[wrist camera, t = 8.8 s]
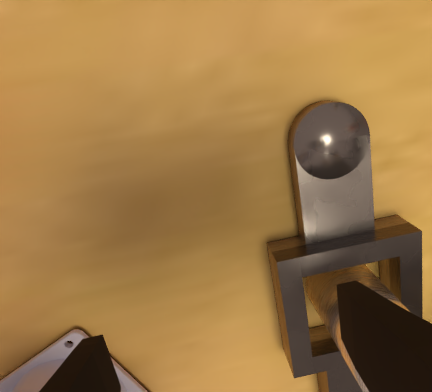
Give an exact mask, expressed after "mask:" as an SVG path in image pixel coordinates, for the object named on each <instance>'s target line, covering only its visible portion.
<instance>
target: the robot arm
mask: <svg viewBox="0 0 432 392" xmlns="http://www.w3.org/2000/svg"><path fill="white" fill-rule="evenodd" d="M336 288H337V298H338V309H339V320H340V331H341V339H342V341H343V344H344V346H345V348H346V350H347V352H348V355H349V357H350V359H351V361H352V363H353V365H354V367H355V369H356V371H357V372H358V374H359V376H360V377H361V379H362V381H363V382H364V384H365V386H366V387H367V389H368V390H369V392H432V324H431V323H429V322H428V321H426V320H424V319H422V318H420V317H418V316H416V315H414V314H413V313H411V312H409V311H407V310H406V309H404V308H402V307H400V306H398V305H397V304H395V303H393V302H392V301H390V300H388V299H387V298H385V297H383V296H381V295H380V294H378V293H376V292H375V291H373V290H371V289H370V288H368V287H366V286H365V285H363V284H361V283H360V282H358V281H356V280H355V281H351V282H346V283H341V284H337V285H336ZM67 341H71V342H73V343H72V344H71V343H68V342H67ZM0 392H148V391H147V390H146V389H145V388H143V387H142V386H141V385H140V384H139V383H138V382H137V381H136V380H135V379H134V378H133V377H132V376H131V375H129V374H128V373H127V372H126V371H125V370H124V369H123V368H122V367H121V366H120V365H119V364H118V363H117V362H115V361H114V360H113V359H112V358H111V357H110V354H109V351H108V348H107V346H106V343H105V340H104V337H103V335H98V336H94V337H89V336H87V335H86V334H85V333H84V332H83V331H82V330H79V329H74V330H72V331H70V332H69V333H67V334H66V335H64V336H63V337H62V338H60V339H59V340H57V341H56V342H54V343H53V344H52V345H50V346H49V347H47V348H46V349H44V350H43V351H42V352H40V353H39V354H37V355H36V356H35V357H33V358H32V359H30V360H29V361H27V362H26V363H25V364H23V365H22V366H20V367H19V368H17V369H16V370H15V371H13V372H12V373H10V374H9V375H8V376H6V377H5V378H3V379H2V380H0Z"/></svg>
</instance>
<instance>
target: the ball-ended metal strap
mask: <svg viewBox="0 0 432 392" xmlns="http://www.w3.org/2000/svg"><path fill="white" fill-rule="evenodd" d="M288 149H289V157H290V164H291V172H292V180H293V188H294V196H295V204H296V212H297V220H298V228H299V236H296V237H291V238H287V239H282V240H277V241H273V242H268V243H267V248H268V255H269V261H270V267H271V273H272V280H273V286H274V292H275V298H276V305H277V311H278V317H279V323H280V330H281V336H282V342H283V349H284V352H285V355H286V357H287V360H288V363H289V365H290V368H291V371H292V373H293V376H294V378H297V377H302V376H306V375H311V374H315V373H317V378H318V386H319V392H363V391H362V389H361V388H360V386H359V384H358V382H357V381H356V379H355V377H354V375H353V374H352V372H351V370H350V368H349V367H348V365H347V363H346V361H345V360H344V358H343V356H342V354H341V353H340V351H339V349H338V347H337V346H336V344H335V342H334V340H333V339H332V337H331V335H330V333H329V332H328V330H327V328H326V326H325V325H323V326H319V327H314V328H310V329H309V327H308V319H307V311H306V304H305V296H304V288H303V280H302V277H307V276H311V275H316V274H321V273H325V272H330V271H334V270H339V269H344V268H348V267H353V266H357V265H362V264H366V263H371V262H376V261H379V271H380V281H381V282H382V283H383V284H384V285H385V286H386V287H387V288H388V289H389V290H390V291H391V292H392V293H393V294H394V295H395V296H396V298H397V299H398V300H399V301H400V302H401V303H402V304H403V305H404V306H405V307H406V308H407V309H408V310H409V311H410V312H411V313H413V314H414V315H416V316H418V317H420V318H422V231H421V230H420V229H418V228H417V227H415V226H413V225H412V224H410V223H409V222H407V221H406V220H404V219H403V218H401V217H400V216H398V215H394V216H389V217H384V218H380V219H375V220H374V207H373V188H372V169H371V149H370V133H369V127H368V124H367V121H366V119H365V118H364V116H363V115H362V114H361V112H360V111H358V110H357V109H356V108H354V107H353V106H351V105H349V104H345V103H341V102H335V101H320V102H316V103H313V104H311V105H309V106H308V107H306V108H305V109H303V110H302V111H301V112H300V113H299V114H298V115H297V117H296V118H295V119H294V121H293V123H292V125H291V127H290V130H289V134H288Z"/></svg>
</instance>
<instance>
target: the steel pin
mask: <svg viewBox="0 0 432 392" xmlns="http://www.w3.org/2000/svg"><path fill="white" fill-rule="evenodd" d="M355 280H356V281H358V282H360V283H361V284H363V285H365V286H366V287H368V288H370V289H371V290H373V291H375V292H376V293H378V294H380V295H381V296H383V297H385V298H387V299H388V300H390V301H392V302H393V303H395V304H397V305H398V306H400V307H402V308H404V309H406V310H407V311H409V310H408V309H407V308H406V307H405V306H404V305H403V304H402V303H401V302H400V301H399V300H398V299H397V298H396V296H395V295H394V294H393V293H392V292H391V291H390V290H389V289H388V288H387V287H386V286H385V285H384V284H383V283H382V282H381V281H380V280H379V279H378V278H377V277H376V276H375V275H374V274H373V273H372V272H371V270H370V269H369V268H368V267H367V266H366V265H365V264H362V265H357V266H353V267H348V268H344V269H339V270H334V271H330V272H325V273H321V274H316V275H311V276H307V279H306V292H307V295H308V297H309V298H310V300H311V302H312V304H313V305H314V307H315V309H316V311H317V312H318V314H319V316H320V318H321V319H322V321H323V323H324V325H325V326H326V328H327V330H328V332H329V333H330V335H331V337H332V339H333V340H334V342H335V344H336V346H337V347H338V349H339V351H340V353H341V354H342V356H343V358H344V360H345V361H346V363H347V365H348V367H349V368H350V370H351V372H352V374H353V375H354V377H355V379H356V381H357V382H358V384H359V386H360V388H361V389H362V391H363V392H369V390H368V389H367V387H366V386H365V384H364V382H363V381H362V379H361V377H360V376H359V374H358V372H357V371H356V369H355V367H354V365H353V363H352V361H351V359H350V357H349V355H348V352H347V350H346V348H345V346H344V344H343V341H342V339H341V331H340V320H339V309H338V298H337V288H336V285H337V284H341V283H346V282H351V281H355ZM409 312H410V311H409Z"/></svg>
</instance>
